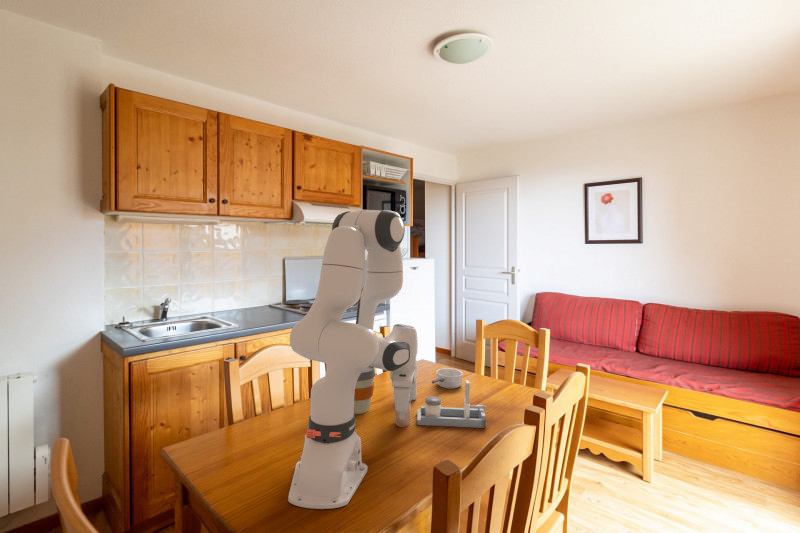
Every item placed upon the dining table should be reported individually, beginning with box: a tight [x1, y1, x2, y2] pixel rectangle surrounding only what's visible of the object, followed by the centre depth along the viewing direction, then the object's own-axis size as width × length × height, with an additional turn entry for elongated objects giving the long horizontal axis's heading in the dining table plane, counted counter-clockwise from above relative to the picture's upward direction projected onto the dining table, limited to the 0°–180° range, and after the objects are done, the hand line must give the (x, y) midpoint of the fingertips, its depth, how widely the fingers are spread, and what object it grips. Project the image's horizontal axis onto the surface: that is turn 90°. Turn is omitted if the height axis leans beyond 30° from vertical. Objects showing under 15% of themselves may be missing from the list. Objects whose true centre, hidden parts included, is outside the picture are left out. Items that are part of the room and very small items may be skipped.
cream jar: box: [424, 395, 442, 417], centre depth 130 cm, size 5×5×7 cm
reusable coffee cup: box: [354, 366, 376, 415], centre depth 137 cm, size 13×12×15 cm
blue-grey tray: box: [416, 404, 487, 429], centre depth 129 cm, size 9×22×4 cm, turn 86°
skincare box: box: [410, 378, 418, 401], centre depth 148 cm, size 6×4×12 cm
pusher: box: [463, 379, 488, 418], centre depth 129 cm, size 6×7×13 cm
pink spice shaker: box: [394, 397, 412, 428], centre depth 126 cm, size 5×5×8 cm
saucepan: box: [431, 367, 464, 390], centre depth 159 cm, size 12×20×6 cm, turn 146°
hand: (402, 414), depth 126 cm, fingers closed on pink spice shaker, 5 cm apart
